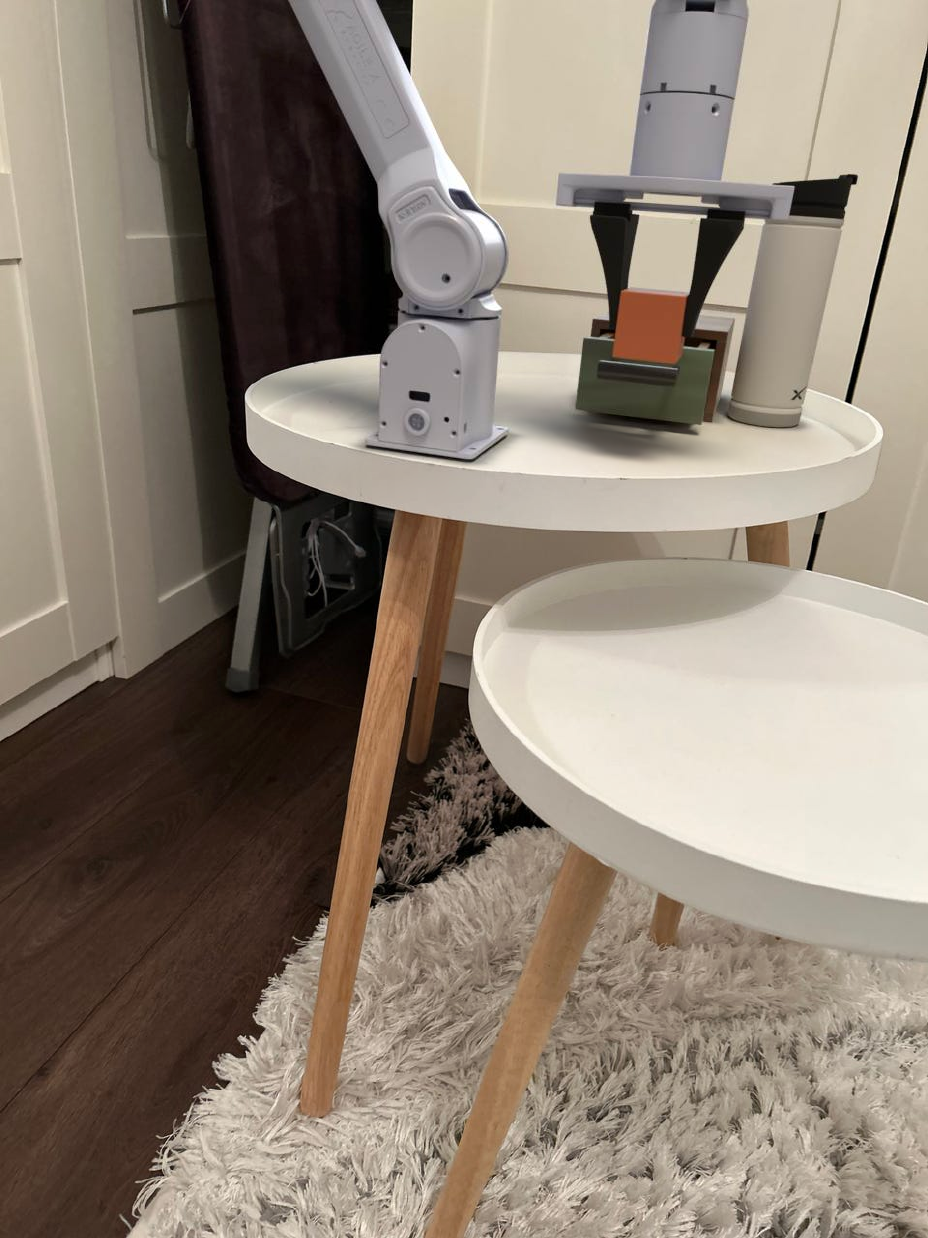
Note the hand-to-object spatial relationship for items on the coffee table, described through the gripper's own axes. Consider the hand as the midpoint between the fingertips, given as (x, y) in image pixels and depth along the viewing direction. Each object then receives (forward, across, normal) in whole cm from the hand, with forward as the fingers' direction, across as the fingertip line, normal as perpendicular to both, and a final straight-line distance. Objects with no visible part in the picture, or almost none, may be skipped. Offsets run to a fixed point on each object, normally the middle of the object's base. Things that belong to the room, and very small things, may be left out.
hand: (651, 332), depth 59 cm
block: (+2, 0, 0) cm, 2 cm away
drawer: (+8, +1, -15) cm, 17 cm away
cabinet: (+9, +2, -24) cm, 26 cm away
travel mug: (+9, -9, -22) cm, 25 cm away
